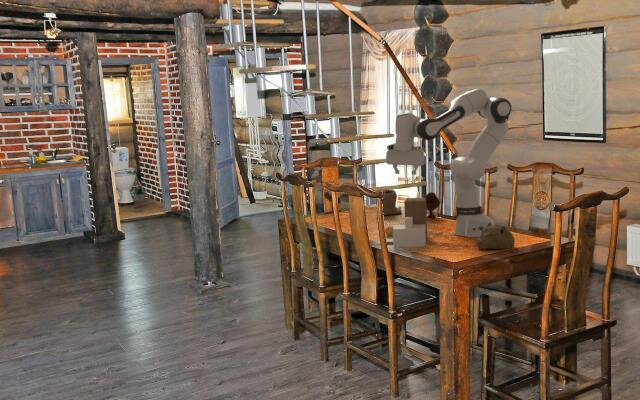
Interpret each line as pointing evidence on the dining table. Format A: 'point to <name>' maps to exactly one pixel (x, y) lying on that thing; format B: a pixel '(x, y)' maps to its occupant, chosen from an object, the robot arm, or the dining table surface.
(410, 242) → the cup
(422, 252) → the dining table surface
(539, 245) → the dining table surface
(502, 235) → the bear head
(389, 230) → the ball
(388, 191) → the stone cup
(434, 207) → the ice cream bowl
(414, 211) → the wooden block
